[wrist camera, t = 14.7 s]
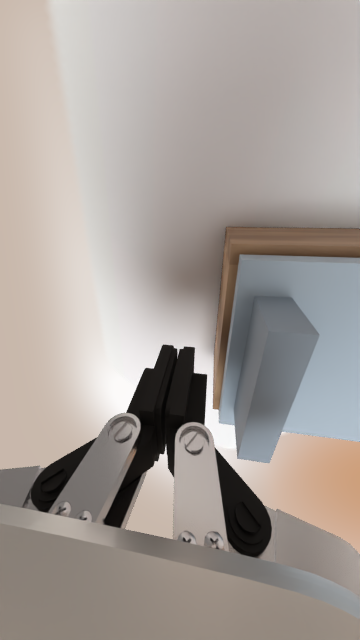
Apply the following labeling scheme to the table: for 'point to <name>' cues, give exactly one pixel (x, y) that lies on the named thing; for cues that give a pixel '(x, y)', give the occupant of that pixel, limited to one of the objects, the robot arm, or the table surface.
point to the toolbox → (269, 243)
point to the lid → (292, 352)
